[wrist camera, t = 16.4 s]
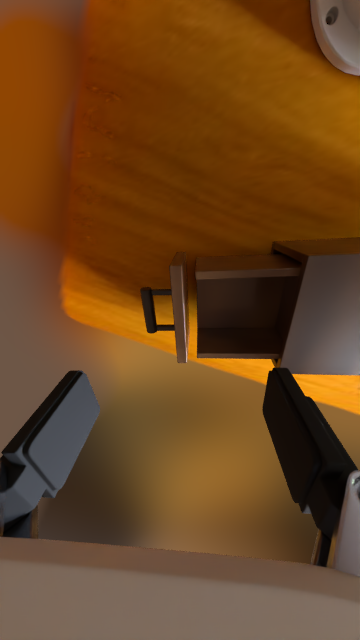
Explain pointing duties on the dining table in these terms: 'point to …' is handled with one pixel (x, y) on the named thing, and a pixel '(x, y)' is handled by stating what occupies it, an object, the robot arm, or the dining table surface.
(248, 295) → the drawer
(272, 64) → the dining table surface
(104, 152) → the dining table surface
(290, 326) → the cabinet
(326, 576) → the robot arm
